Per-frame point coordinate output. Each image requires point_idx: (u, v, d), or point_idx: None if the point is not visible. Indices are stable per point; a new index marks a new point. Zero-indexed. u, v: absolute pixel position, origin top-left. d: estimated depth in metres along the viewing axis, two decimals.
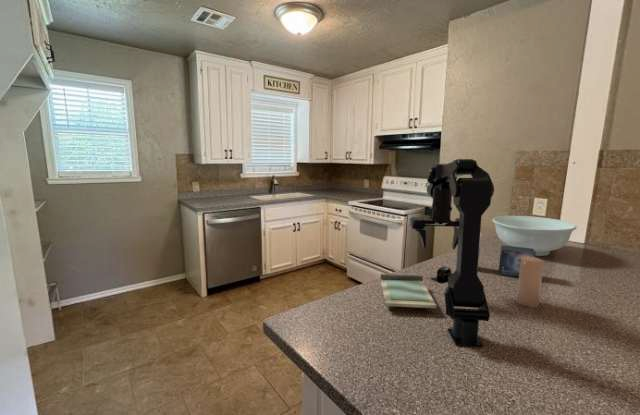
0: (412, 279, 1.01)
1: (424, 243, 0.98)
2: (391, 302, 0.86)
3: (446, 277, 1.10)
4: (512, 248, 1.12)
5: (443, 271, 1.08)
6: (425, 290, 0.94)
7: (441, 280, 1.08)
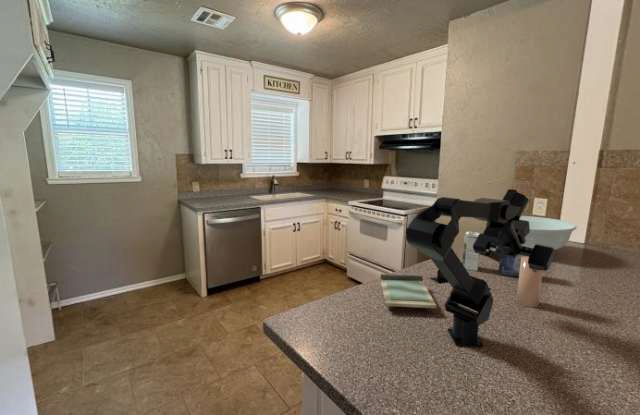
0: (412, 279, 1.01)
1: (496, 261, 0.88)
2: (391, 302, 0.86)
3: None
4: None
5: None
6: (425, 290, 0.94)
7: (441, 280, 1.08)
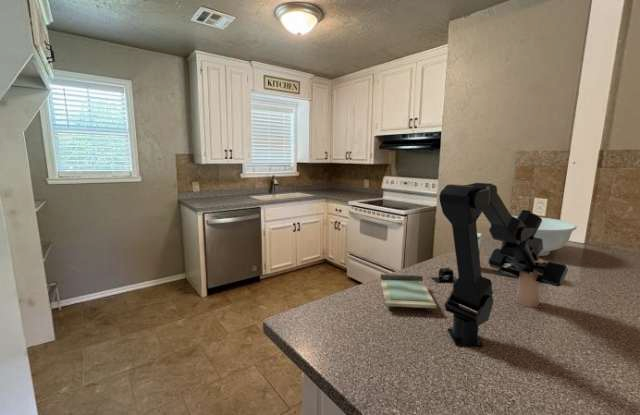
0: (412, 279, 1.01)
1: (516, 276, 0.93)
2: (391, 302, 0.86)
3: (448, 278, 1.08)
4: None
5: (443, 271, 1.08)
6: (425, 290, 0.94)
7: (440, 280, 1.08)
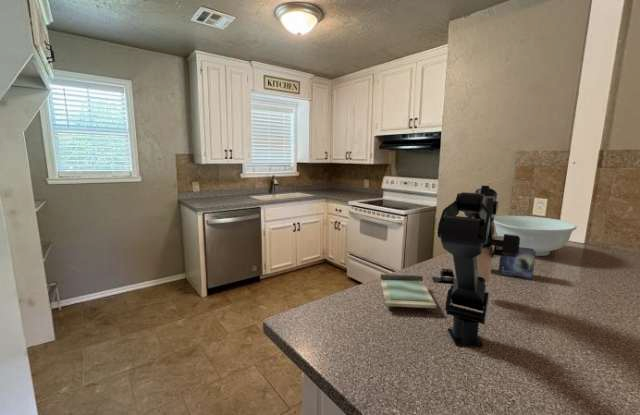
0: (412, 279, 1.01)
1: None
2: (391, 302, 0.86)
3: (448, 279, 1.08)
4: None
5: (442, 272, 1.07)
6: (425, 290, 0.94)
7: (439, 280, 1.08)
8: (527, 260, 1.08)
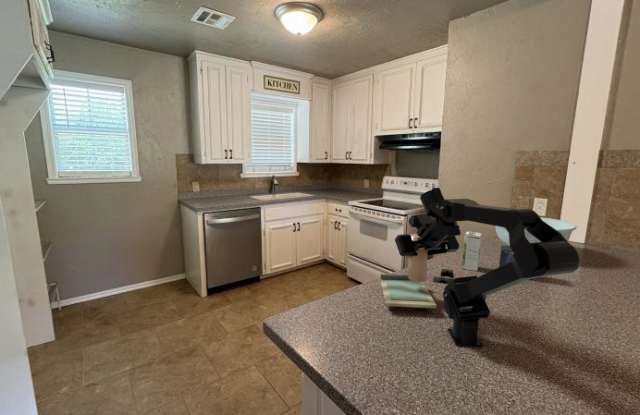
0: None
1: (409, 257, 0.92)
2: (391, 302, 0.86)
3: (448, 280, 1.07)
4: None
5: (442, 272, 1.07)
6: (425, 290, 0.94)
7: (438, 280, 1.08)
8: None
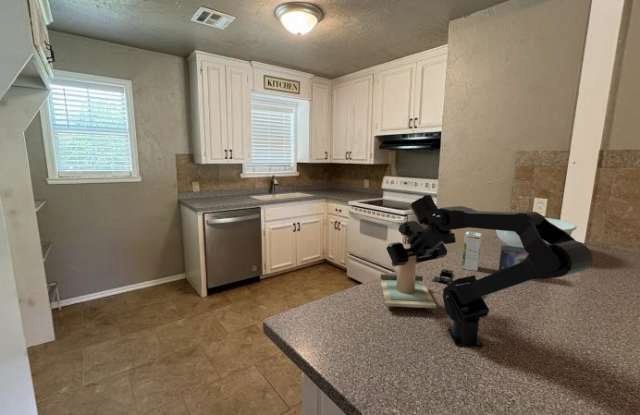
0: None
1: None
2: (391, 302, 0.86)
3: (447, 280, 1.07)
4: (512, 248, 1.12)
5: (441, 272, 1.07)
6: (425, 290, 0.94)
7: (438, 280, 1.08)
8: None
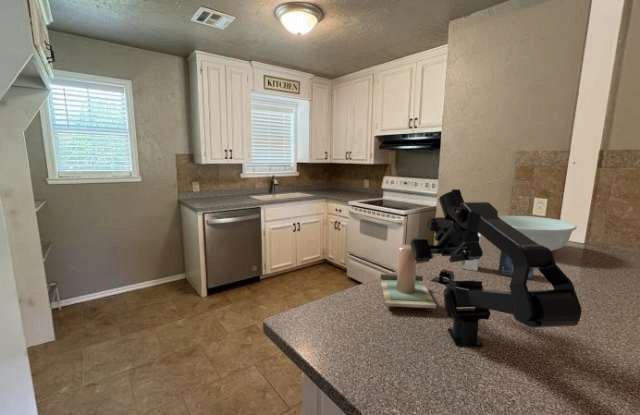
0: None
1: (422, 262, 0.86)
2: (391, 302, 0.86)
3: (446, 281, 1.06)
4: None
5: None
6: (425, 290, 0.94)
7: (437, 280, 1.08)
8: None
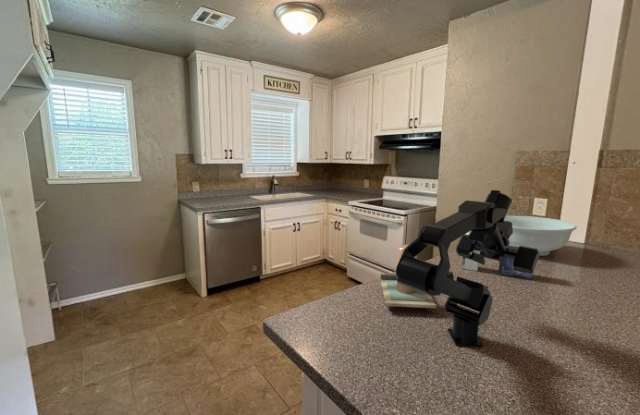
0: None
1: None
2: (391, 302, 0.86)
3: None
4: (512, 248, 1.12)
5: None
6: None
7: None
8: None
